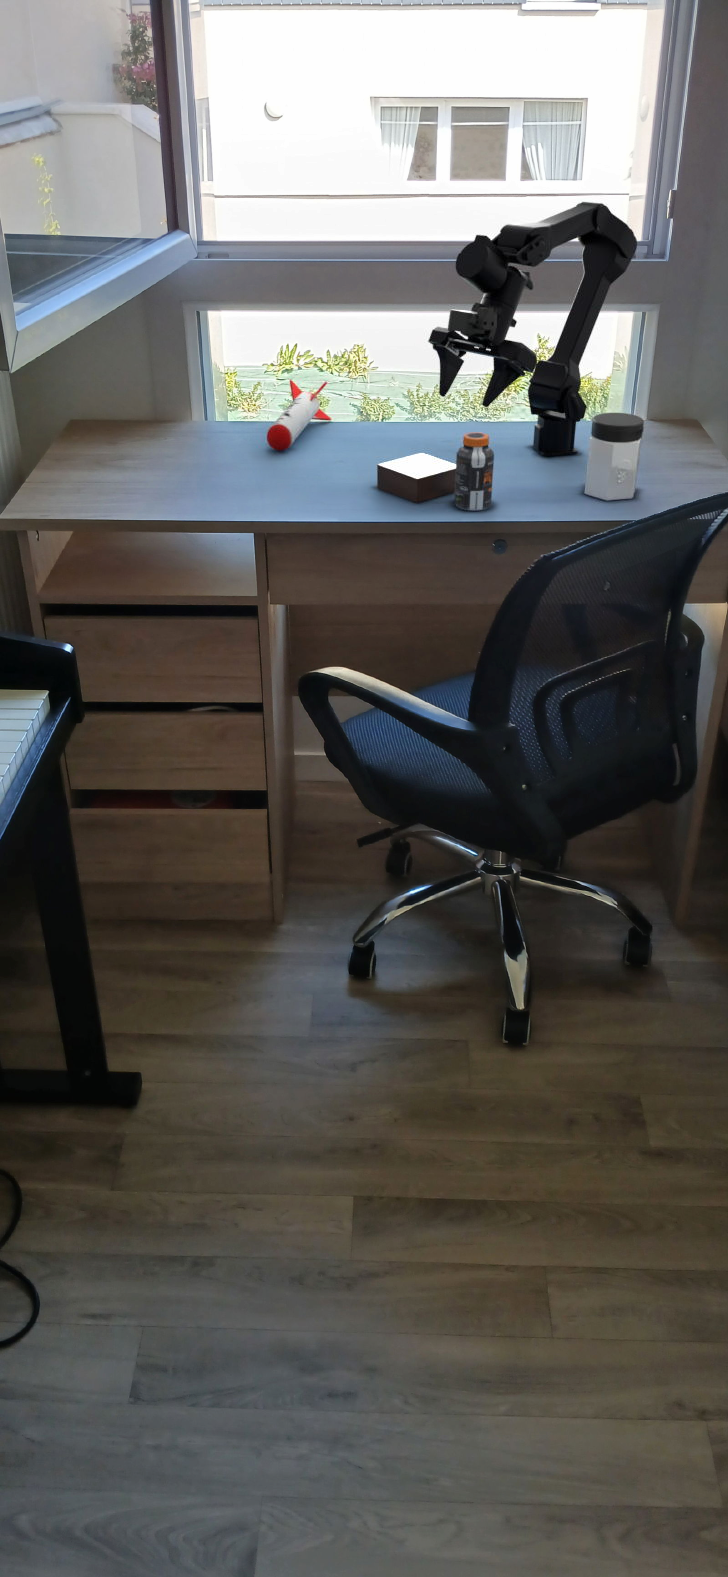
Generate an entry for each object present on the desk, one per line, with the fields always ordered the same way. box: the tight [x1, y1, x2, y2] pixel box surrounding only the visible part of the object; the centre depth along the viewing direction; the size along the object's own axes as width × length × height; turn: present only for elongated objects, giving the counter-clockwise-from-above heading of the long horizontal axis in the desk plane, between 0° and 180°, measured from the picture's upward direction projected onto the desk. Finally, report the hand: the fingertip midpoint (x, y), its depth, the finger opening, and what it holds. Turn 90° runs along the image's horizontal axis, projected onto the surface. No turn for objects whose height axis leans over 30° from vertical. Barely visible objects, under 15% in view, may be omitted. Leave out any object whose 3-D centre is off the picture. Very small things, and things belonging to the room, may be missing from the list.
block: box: [376, 452, 456, 504], centre depth 192 cm, size 10×10×4 cm
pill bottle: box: [454, 431, 495, 511], centre depth 183 cm, size 6×6×11 cm
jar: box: [584, 412, 645, 501], centre depth 187 cm, size 9×8×12 cm
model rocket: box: [266, 379, 332, 452], centre depth 217 cm, size 11×23×10 cm
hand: (462, 400), depth 187 cm, fingers open, 9 cm apart
